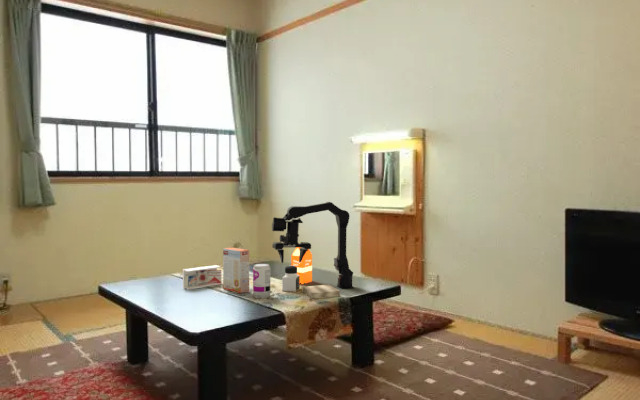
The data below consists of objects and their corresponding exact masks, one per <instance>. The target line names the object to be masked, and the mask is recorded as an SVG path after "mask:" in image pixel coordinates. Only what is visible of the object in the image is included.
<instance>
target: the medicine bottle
mask: <svg viewBox="0 0 640 400" xmlns="http://www.w3.org/2000/svg"><path fill="white" fill-rule="evenodd" d="M284 274H285V275H283V276H282V280H281V281H282V282H281V284H282V285H281V287H282V289H281V290H282V292H292V291H293V292H292V293H294V292H295V293H296V292H298V290H300V287H301V286H300V285H301V284H300V275H297V267H296V266H291V265H286V266H285V267H284Z"/></svg>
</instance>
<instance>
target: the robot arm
mask: <svg viewBox="0 0 640 400" xmlns="http://www.w3.org/2000/svg"><path fill="white" fill-rule="evenodd" d="M325 211H329V212H330V213H332V215H334V216H335V222H336V225H337V256H336V257H333V261H334V263H333V266H334V268H335V270H336V271H337V272H338V273H339V274H338V278H337V287H339V288H340V289H354V285H353V275H354V272H353V270H352V269H350V267H349V260H348V256H347V228H348V225H349V223H350V222H349V221H350V212H349V211H347V210H345V209H341V208H340V207H338V206H337V205H335V204H334V203H333V202H331V201H326V202H321V203H318V204H311V205H306V206H304V205H303V206H301V205H292V206H291V205H290V206H289V207H288V208H287V210H286V213H285V215H284V216H283V217H274V216H273V218H272V223H271V231H272V232H284V231H286V232H285V234H283V235H282V234H281V235H279V241H274V242H273V243H272V248H273V249H274V250H276V251H277V252H278V255H279V259H280V262H281V263H282V264H283V263H284V254H285V253H284V252H285V251H284V248H296V247H301V248H300V256H299V263H301V261H302V259H303V256H304V255H305V253H306V251H308V249H309V250H311V249H312V244H311V243H310V242H308V241H302V242H300V243H299V237H300V234H299V230H300V228H299V227H300V224H303V223H304V222H303V220H302V219H301V218H300V217H304V216H306V215H309V214H313V213H314V214H315V213H320V212H325Z"/></svg>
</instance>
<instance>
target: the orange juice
mask: <svg viewBox="0 0 640 400" xmlns="http://www.w3.org/2000/svg"><path fill="white" fill-rule="evenodd" d="M300 248H301V247H295V249H294V251H293V252H292V254H291V264H290V266H296V267H297V275H300V283H301V284H300V285H304V283H305V284H308V283H311V282H313V254H312V252H311V251H310V250H311V249H308V251H306V253H305V255H304V256H303V259H302V261H301V263H299V256H300Z"/></svg>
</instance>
